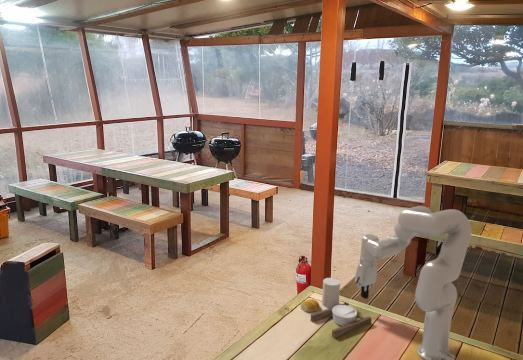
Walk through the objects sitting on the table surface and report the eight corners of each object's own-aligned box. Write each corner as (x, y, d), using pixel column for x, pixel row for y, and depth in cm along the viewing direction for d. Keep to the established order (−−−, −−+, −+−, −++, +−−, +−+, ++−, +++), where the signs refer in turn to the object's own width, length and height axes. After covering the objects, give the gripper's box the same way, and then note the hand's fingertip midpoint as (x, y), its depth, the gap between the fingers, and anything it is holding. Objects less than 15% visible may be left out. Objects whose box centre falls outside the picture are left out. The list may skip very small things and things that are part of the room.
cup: (318, 301, 211) (319, 279, 208) (332, 298, 214) (333, 276, 211) (327, 309, 203) (329, 286, 201) (341, 306, 207) (343, 283, 204)
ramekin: (355, 330, 187) (355, 319, 186) (329, 325, 190) (330, 314, 189) (357, 317, 197) (358, 307, 196) (333, 313, 201) (334, 302, 200)
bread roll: (322, 309, 204) (323, 301, 203) (308, 314, 199) (309, 306, 198) (310, 301, 211) (311, 294, 210) (297, 307, 205) (297, 299, 205)
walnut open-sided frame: (370, 323, 192) (371, 317, 191) (334, 338, 180) (334, 331, 180) (346, 308, 205) (346, 302, 204) (310, 320, 193) (310, 314, 193)
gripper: (373, 255, 202) (369, 290, 206) (350, 261, 194) (347, 297, 199) (385, 261, 196) (381, 297, 200) (362, 267, 188) (358, 305, 192)
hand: (364, 297), depth 199 cm, fingers closed
